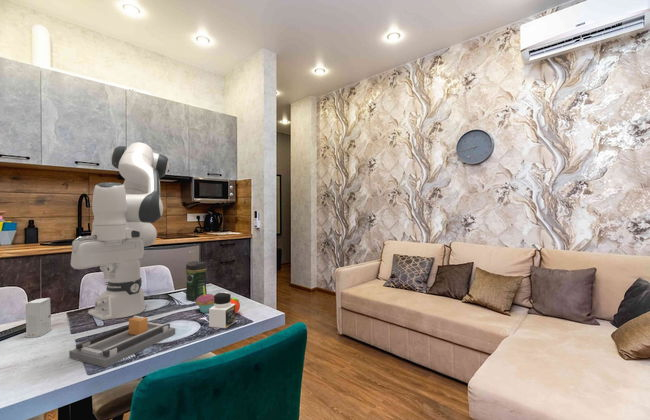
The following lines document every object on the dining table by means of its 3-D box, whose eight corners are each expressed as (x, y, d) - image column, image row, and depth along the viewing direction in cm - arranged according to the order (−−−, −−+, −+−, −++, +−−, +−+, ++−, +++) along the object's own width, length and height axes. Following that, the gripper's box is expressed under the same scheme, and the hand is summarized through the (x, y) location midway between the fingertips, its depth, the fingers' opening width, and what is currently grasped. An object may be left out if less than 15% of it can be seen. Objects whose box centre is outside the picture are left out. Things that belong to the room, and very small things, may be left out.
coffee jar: (209, 298, 148) (209, 261, 148) (195, 302, 142) (195, 263, 142) (197, 295, 154) (197, 259, 153) (183, 299, 147) (183, 261, 147)
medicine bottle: (226, 328, 111) (225, 296, 111) (208, 327, 112) (208, 295, 112) (235, 321, 118) (235, 291, 118) (219, 320, 119) (219, 290, 119)
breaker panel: (69, 357, 90) (69, 345, 90) (143, 327, 112) (142, 318, 112) (105, 367, 84) (105, 354, 84) (175, 333, 106) (175, 323, 106)
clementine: (245, 311, 129) (244, 295, 129) (239, 317, 122) (238, 300, 122) (227, 311, 129) (226, 295, 129) (220, 317, 122) (219, 300, 122)
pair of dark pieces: (76, 348, 90) (76, 344, 90) (143, 322, 111) (143, 319, 111) (105, 356, 85) (105, 352, 85) (169, 327, 106) (169, 324, 106)
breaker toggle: (128, 333, 101) (128, 317, 101) (137, 330, 104) (137, 314, 104) (139, 335, 100) (139, 319, 99) (147, 332, 102) (147, 316, 102)
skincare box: (40, 336, 104) (40, 302, 104) (25, 338, 103) (24, 303, 103) (51, 329, 110) (51, 297, 110) (37, 331, 109) (37, 298, 109)
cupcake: (210, 314, 126) (209, 286, 125) (191, 313, 127) (191, 285, 127) (220, 307, 134) (220, 281, 134) (202, 307, 135) (202, 280, 135)
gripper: (79, 237, 82) (79, 287, 82) (147, 231, 101) (147, 272, 101) (65, 236, 84) (65, 285, 85) (133, 231, 104) (134, 271, 104)
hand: (110, 278), depth 93 cm, fingers closed
